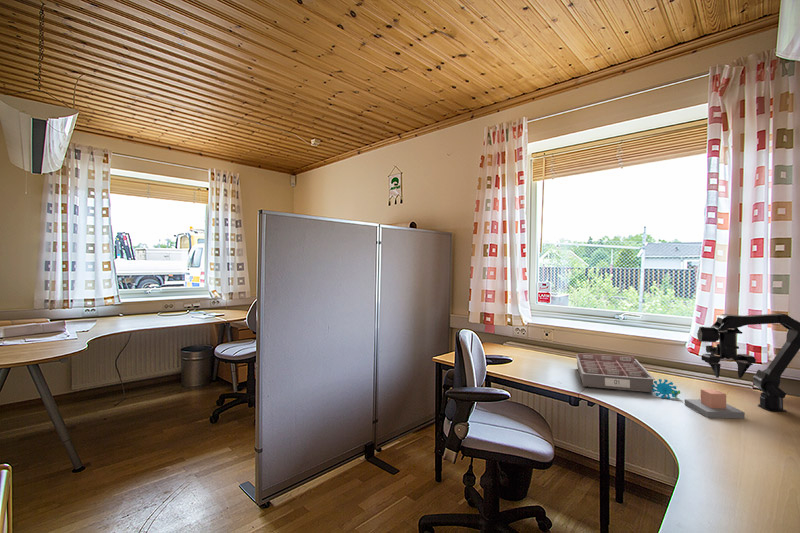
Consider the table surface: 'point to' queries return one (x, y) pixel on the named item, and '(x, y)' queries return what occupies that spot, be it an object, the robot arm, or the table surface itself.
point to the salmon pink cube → (713, 398)
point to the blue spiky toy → (665, 389)
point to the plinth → (714, 410)
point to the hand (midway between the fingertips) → (728, 377)
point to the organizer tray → (613, 372)
